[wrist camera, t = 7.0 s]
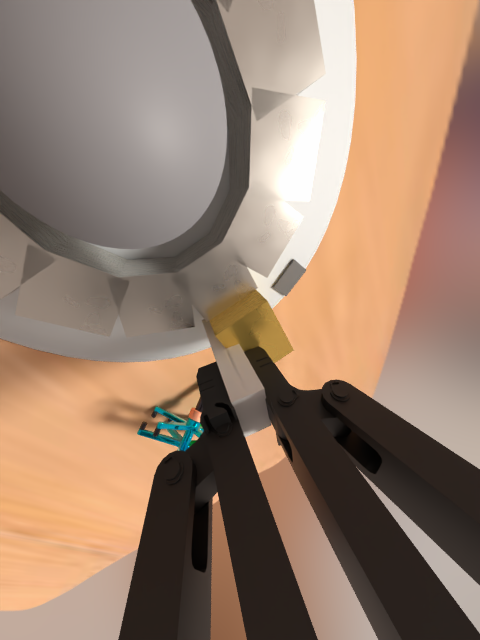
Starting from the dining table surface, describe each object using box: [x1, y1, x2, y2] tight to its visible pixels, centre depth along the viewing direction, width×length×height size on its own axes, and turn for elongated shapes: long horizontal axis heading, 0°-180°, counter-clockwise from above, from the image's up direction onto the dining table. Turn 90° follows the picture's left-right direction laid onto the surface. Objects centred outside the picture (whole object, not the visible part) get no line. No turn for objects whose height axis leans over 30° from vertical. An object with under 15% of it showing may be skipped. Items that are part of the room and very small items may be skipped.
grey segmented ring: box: [0, 0, 326, 363], centre depth 8 cm, size 21×19×4 cm
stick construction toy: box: [137, 396, 204, 451], centre depth 20 cm, size 12×7×8 cm
